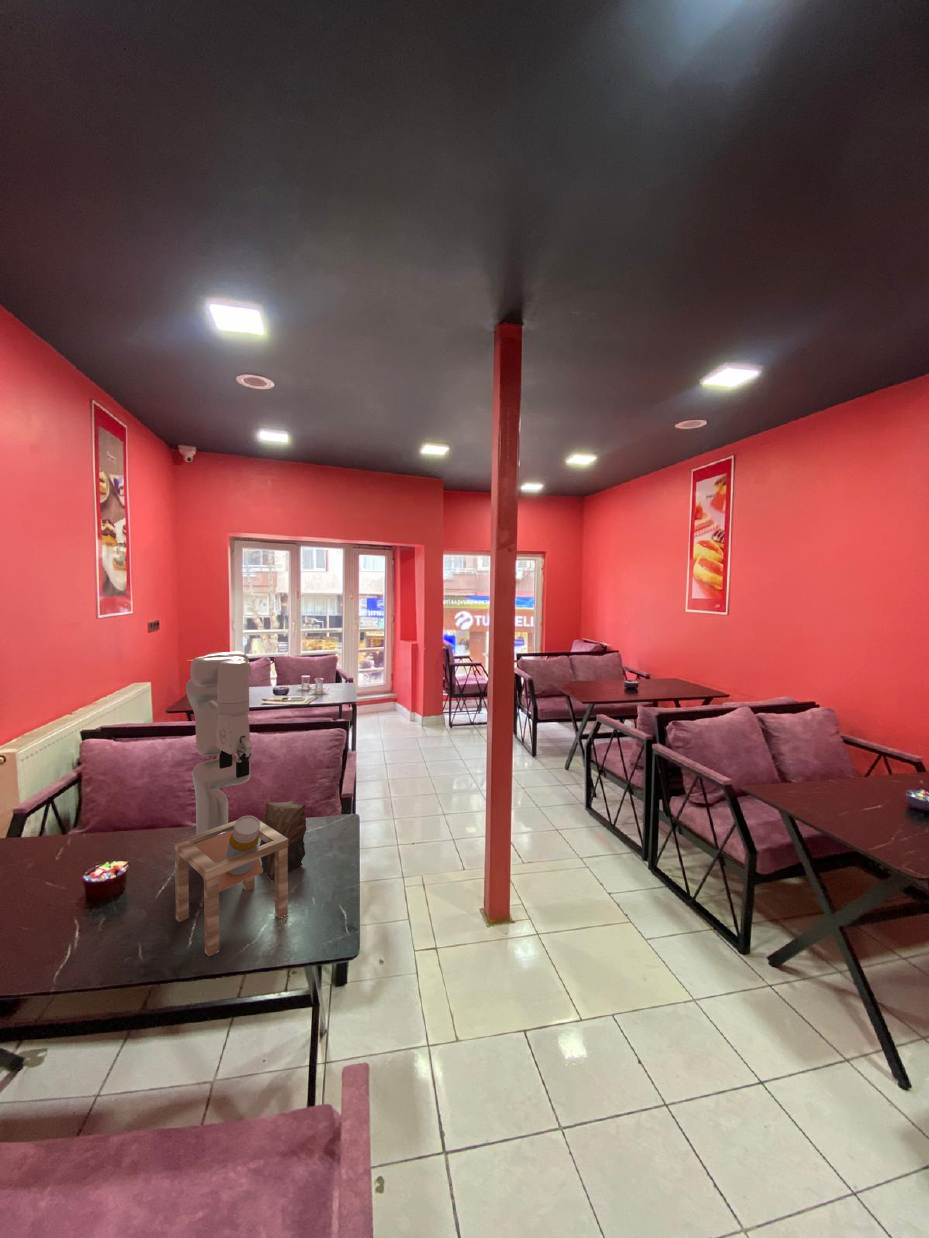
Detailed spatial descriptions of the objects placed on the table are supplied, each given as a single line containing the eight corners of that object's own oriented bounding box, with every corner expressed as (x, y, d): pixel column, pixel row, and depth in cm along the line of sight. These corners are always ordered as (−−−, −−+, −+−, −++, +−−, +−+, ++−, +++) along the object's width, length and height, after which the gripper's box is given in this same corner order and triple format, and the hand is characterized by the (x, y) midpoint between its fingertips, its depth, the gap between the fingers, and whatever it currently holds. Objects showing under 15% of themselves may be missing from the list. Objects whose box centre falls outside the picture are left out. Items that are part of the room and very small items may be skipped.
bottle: (258, 863, 130) (267, 822, 125) (238, 882, 124) (248, 840, 119) (238, 850, 132) (246, 810, 127) (217, 868, 126) (226, 826, 121)
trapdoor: (191, 844, 128) (192, 842, 127) (244, 825, 138) (245, 824, 138) (209, 896, 121) (210, 894, 121) (262, 872, 132) (263, 870, 131)
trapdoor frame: (174, 918, 128) (173, 842, 127) (251, 883, 144) (251, 815, 143) (207, 957, 114) (206, 872, 113) (288, 914, 130) (288, 838, 129)
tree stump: (257, 863, 155) (257, 803, 154) (296, 850, 163) (296, 793, 162) (269, 881, 145) (269, 817, 144) (310, 867, 153) (310, 806, 152)
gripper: (204, 704, 128) (205, 767, 129) (234, 715, 117) (234, 784, 118) (233, 700, 134) (233, 760, 135) (263, 710, 123) (263, 775, 123)
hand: (234, 771), depth 126 cm, fingers open, 9 cm apart
